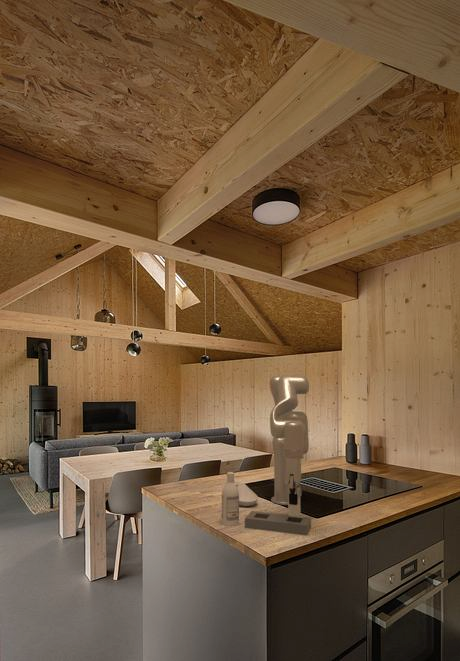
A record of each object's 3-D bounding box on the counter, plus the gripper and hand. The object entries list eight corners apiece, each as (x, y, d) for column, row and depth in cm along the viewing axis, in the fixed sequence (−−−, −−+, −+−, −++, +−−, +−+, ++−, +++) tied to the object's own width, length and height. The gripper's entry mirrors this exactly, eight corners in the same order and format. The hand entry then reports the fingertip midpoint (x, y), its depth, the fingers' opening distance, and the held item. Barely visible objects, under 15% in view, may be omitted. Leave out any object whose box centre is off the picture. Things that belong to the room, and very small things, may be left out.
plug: (290, 512, 162) (290, 485, 163) (302, 513, 160) (301, 486, 162) (288, 515, 158) (288, 487, 160) (300, 516, 157) (300, 488, 158)
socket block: (251, 521, 170) (251, 510, 170) (310, 528, 162) (310, 517, 162) (244, 529, 160) (244, 517, 161) (307, 536, 153) (306, 525, 153)
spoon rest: (260, 508, 188) (260, 492, 189) (235, 509, 186) (235, 493, 187) (249, 494, 211) (249, 480, 212) (226, 495, 209) (226, 480, 210)
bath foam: (242, 524, 165) (242, 472, 168) (230, 528, 160) (231, 475, 163) (229, 520, 170) (230, 470, 173) (217, 524, 165) (218, 472, 168)
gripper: (288, 450, 172) (288, 496, 169) (279, 456, 156) (280, 507, 153) (306, 451, 169) (307, 498, 167) (299, 458, 154) (300, 509, 151)
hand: (294, 502), depth 160 cm, fingers closed on plug, 4 cm apart
